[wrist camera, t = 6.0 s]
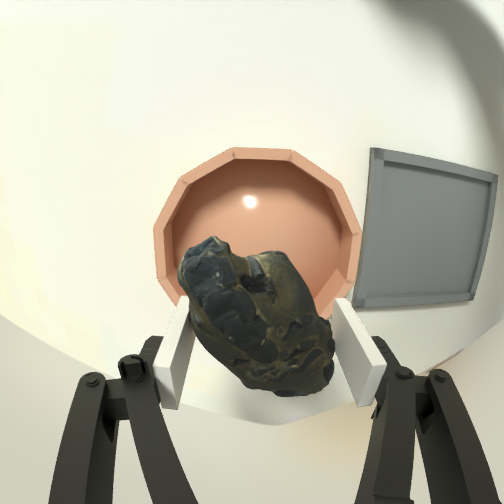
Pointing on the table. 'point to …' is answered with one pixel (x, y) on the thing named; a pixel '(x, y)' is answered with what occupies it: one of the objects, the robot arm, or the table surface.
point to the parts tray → (422, 231)
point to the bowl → (263, 219)
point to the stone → (257, 318)
